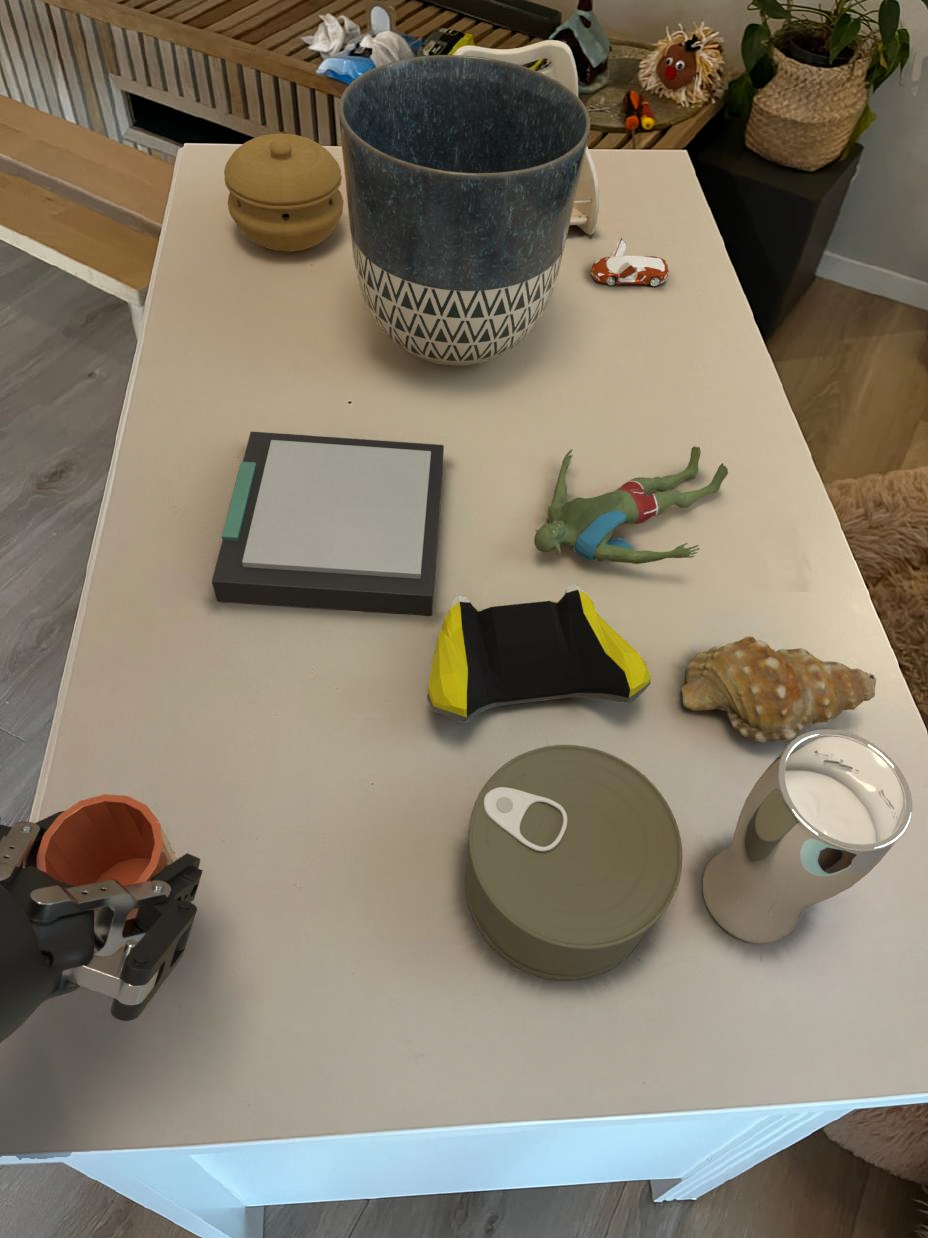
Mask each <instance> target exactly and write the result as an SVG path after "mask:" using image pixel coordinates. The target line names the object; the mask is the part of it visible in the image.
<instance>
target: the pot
mask: <svg viewBox="0 0 928 1238" xmlns="http://www.w3.org/2000/svg"><path fill="white" fill-rule="evenodd" d="M223 175H224V177H223V178H224V183H225V187H226V188H227V190H228V192H229V194H228V197H227V207H228V212H229V215H230V217H231V218H232V220H233V221H234V223H235V224H236V226H237V227H238V228H239V231H241V232H242V234H244V236H246V237H247V238H248V239H249V240H250V241H252V242H253V243H255V244H257V245H259V246H261V247H263V248H266V249H269V250H272V251H277V252H299V251H304V250H308V249H310V248H313V247H315V246H317V245H319V244H321V243H322V242H324V241H325V240H326V239H327V238H328V237H329V236H330V235H331V234H332V233H333V232H334V230H335V228H336V227H337V225H338V223H339V220H340V219H341V217H342V215H343V212H344V197H343V195H342V192H341V190H339V189H340V187H341V186H342V179H343V176H342V170H341V167H340V164H339V162H338V161H337V160H336V159H335V157H334V156H333V155H332V154H331V152H330V151H329V150H327V148H325V147H324V146H323V145H321V144H320V143H318V142H316V141H314V140H313V139H311V138H309V137H306V136H301V135H298V134H293V133H269V134H265V135H263V134H262V135H259V136H257V137H254V138H251V139H250V140H247V141H245V142H244V143H242V144H241V145H240V146H238V148H236V149H235V150H234V151H233V152H232V154H231V156H230V157H229V158H228V160H227V162H226V164H225V167H224V171H223Z"/></svg>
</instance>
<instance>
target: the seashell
mask: <svg viewBox="0 0 928 1238" xmlns="http://www.w3.org/2000/svg"><path fill="white" fill-rule="evenodd" d="M876 685H877V678H876V676H875V675H874V674H872V673H868V672H866V671H863V670H862V669H861V668H851V667H849V666H847V665H845V664H843V663H841V662H839V661H833V660H832V661H831V660H830V661H827V660H826V661H823V660H821V659H819V658H818V657H816V656H815V655H813V653H811V652H810V651H808V650H807V649H805V648H802V647H801V648H800V647H799V648H791V649H790V648H789V649H785V648H783V649H778V650H775V649H773V648H771V647H770V645H769V643H767V642H765V641H763V640H759V639H756V638H755V637H754V636H751V635H748V636H744V637H743V638H742V639H740V640H738V641H734V642H730V643H727V644H725V645H721V646H720V645H715V646H712V647H711V648H710V649H708V650H706V651H704V652H699V653H698V654H696V655H695V657H693V658H692V660H691V661H690V662H689V663H688V664H687V666H686V667H685V684H684V685H682V686H681V688H680V691H681V694H682V695H681V696H682V705H683V707H684V708H686V709H687V710H691V711H713V710H720V711H724V712H726V713H727V714H728V718H729V721H730V723H731V726H732V727H733V730H735V731H736V732H737V733H739V734H740V735H741V736H742V737H743V738H745V739H750V740H753V741H755V742H757V743H769V742H779V741H790V740H794V739H795V738H796V736H797V735H799V733H801V731H803V729H804V727H805V726H808V725H810V724H812V725H813V724H814V725H815V724H818V723H830V722H831V721H832V720H835V719H837V718H838V717H839V716H840V715H841V714H843V713H844V711H848V710H851V711H853V710H855V709H857V707H858V706H859V705H861V704H863V702H869V701H870V700H872V699H873V698H874V697H875V696H876Z"/></svg>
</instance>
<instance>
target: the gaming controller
mask: <svg viewBox="0 0 928 1238" xmlns="http://www.w3.org/2000/svg"><path fill="white" fill-rule="evenodd" d="M430 668H431V669H430V675H429V680H428V686H427V696H426V699H427V701H428V704H429V707H430V710H431V711H432V712H434V713H437V714H439V715H441V716H444V717H446V718H448V719H450V720H452V721H454V722H458V723H467V722H469V721H470V720H472V719H474V718H476V717H477V716H478V715H480V714H482V713H483V712H485V711H486V710H488V709H492V708H496V707H497V708H498V707H502V706H508V705H518V704H526V703H527V704H528V703H534V702H540V701H552V700H560V699H568V698H589V699H597V700H606V701H613V702H621V703H632V702H633V701H635V700H637V698H639V697H640V696H641V695H642V694H643V693H644V692H645V691H646V690H647V689H648V688H649V686H650V685H651V680H652V679H651V678H652V676H651V673H650V671H649V668H648V665H647V663H646V660H645V659H644V658H643V657H642V655H641V654H640V653H639V652H638V651H637V650H636V649H635V648H634V647H633V646H632V645H631V644H629V642H628V641H627V640H625V638H623V636H622V635H620V634H619V632H617V631H616V630H615V629H614V628H613V627H612V626H611V625H610V624H609V623H608V622H607V621H606V620H605V619H604V618H603V617H601V615H600V614H598V612H597V610H596V606H595V602H594V600H592V598H591V596H589V595H588V594H587V593H586V592H585V591H584V590H583V589H582V588H581V587H580V586H578V585H577V584H575V583H574V584H570V585H567V586H566V589H565V591H564V595H563V596H561V598H560V599H559V600H558V601H552V600H545V601H544V600H543V601H534V602H524V603H515V604H506V605H505V604H504V605H497V606H496V605H495V606H490V607H487V608H484V609H481V610H479V609H477V608H476V607H475V606H473V604H472V603H471V602H470V601H469V600H468V598H467V597H466V596H463V595H462V596H461V595H458V596H456V597H455V598H454V599H453V600H452V602H451V606H450V608H449V610H448V612H447V614H446V615H445V616H444V620H443V623H442V626H441V628H440V631H439V633H438V637H437V640H436V645H435V649H434V653H433V656H432V662H431V667H430Z"/></svg>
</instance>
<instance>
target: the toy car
mask: <svg viewBox="0 0 928 1238" xmlns="http://www.w3.org/2000/svg"><path fill="white" fill-rule="evenodd" d="M626 249H627V243H626V241H624V239H623V238H622V237H620V238H618V240H617V243H616V246H615V248H614V250H613V253H612V252H611V253H610V256H605V257H602V258H600V259H598V260H596V261H595V262H594V263H592V265H591V273H590V275H591V276H592V277H593V280H595V281H596V282H598V283H601V284H606V285H607V286H609V287H613V286H615V285H649V286H650V287H653V288H654V287H658V286H659V285H660V284H663V283H664V282H666V280H667V279H668V277H669V275H668V273H669V265H668V264H667V261H666V260H665V259H663V258H662V257H659V256H654V255H624V254H625V252H626Z"/></svg>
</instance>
